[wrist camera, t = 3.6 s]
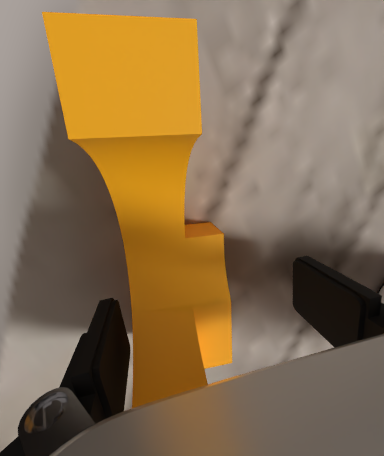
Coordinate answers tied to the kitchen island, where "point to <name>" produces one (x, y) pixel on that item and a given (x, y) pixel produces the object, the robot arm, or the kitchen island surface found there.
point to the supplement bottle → (382, 294)
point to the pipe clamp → (149, 184)
